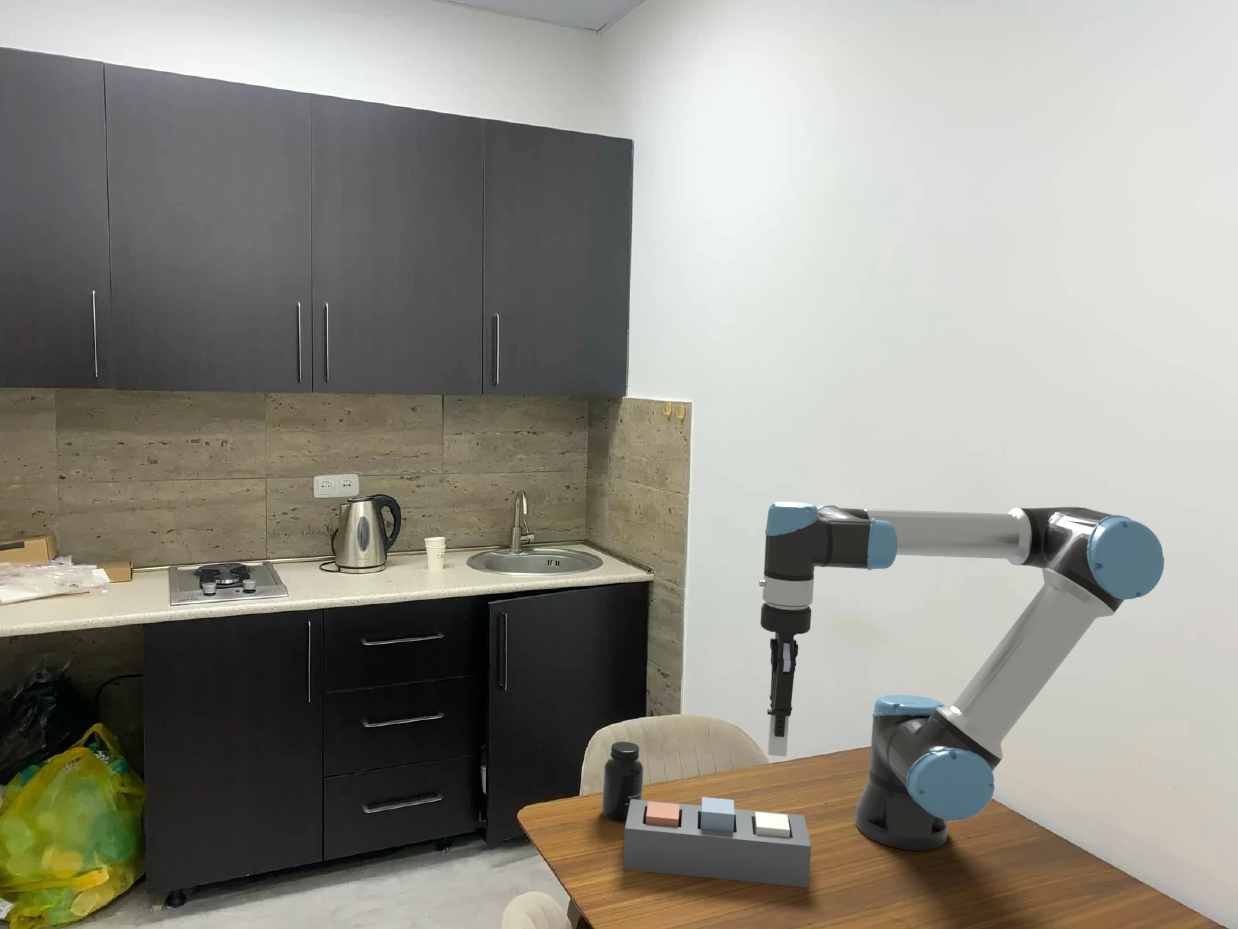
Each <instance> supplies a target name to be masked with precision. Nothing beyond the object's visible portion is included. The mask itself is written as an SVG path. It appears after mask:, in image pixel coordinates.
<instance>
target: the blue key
mask: <svg viewBox="0 0 1238 929" xmlns="http://www.w3.org/2000/svg"><path fill="white" fill-rule="evenodd" d="M700 806H701V823H700V829H703V830H714V831H724V832H733V830H734V809H735V801H734V799H728V798H727V799H726V798H717V797H708V796H707V797H706V796H702V797H701V805H700Z"/></svg>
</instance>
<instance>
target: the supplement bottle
mask: <svg viewBox="0 0 1238 929" xmlns="http://www.w3.org/2000/svg"><path fill="white" fill-rule="evenodd" d="M609 755H610V758H609V759H607V761H606V762H605V763H604V769H603V783H602V797H601V798H602V801H601V803H602V804H601V812H602V814H603V816H605V818H607V819H609V820H611V821H614V822H621V823H622V822H623V823H626V821H627V816H628V811H629V806H630V801H631V799H636V800H643V785H644V766H643V763H642V762H641V761H640V760H639V759H640V747H639V745H638V744H636V743H634V742H631V741H617V742H614V743H613V744H611V748H610V754H609Z"/></svg>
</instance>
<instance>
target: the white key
mask: <svg viewBox="0 0 1238 929" xmlns="http://www.w3.org/2000/svg"><path fill="white" fill-rule="evenodd" d="M774 813H775V812H774ZM774 813H763V812H755V823H754V834H755V835H766V836H776V837H786V838H789V835H790V828H789V822H788V817H787V815H785V814H786V813H785V814H774Z"/></svg>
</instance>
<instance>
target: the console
mask: <svg viewBox="0 0 1238 929" xmlns="http://www.w3.org/2000/svg"><path fill="white" fill-rule="evenodd" d="M648 802H657V803H668V804H678V805H679V823H678V827H672V826H662V825H651V824H646V814H647V807H648ZM701 806H702V805H698V804H689V803H677V802H666V801H665V802H664V801H655V800H648V799H647V800H645V799H642V800H636V799H631V801H630V806H629V811H628V816H627V821H626V822H625V826H624V839H623V840H624V843H623V862H622V869H623V870H628V871H637V872H639V871H640V872H648V873H656V874H657V873H658V874H666V875H667V874H668V875H677V876H686V877H687V876H688V877H696V878H697V877H698V878H707V879H708V878H709V879H717V880H718V879H719V880H726V881H727V880H729V881H737V882H747V883H756V884H767V885H775V886H777V885H778V886H787V887H795V888H806V889H807V888H809V884H810V883H809V882H810V870H811V854H812V845H811V844H812V843H811V841H810V836H809V834H810V833H809V830H808V826H807V822H806V818H805V815H804V814H795V813H794V814H793V813H784V812H774V811H772V812H771V811H763V810H750V809H740V808H734V830H733V832H724V831H714V830H703V829H700V823H701ZM755 812H763V813H774V814H785V815H787V817H788V822H789V828H790V835H789V838H786V837H776V836H766V835H755V834H754V823H755Z"/></svg>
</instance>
